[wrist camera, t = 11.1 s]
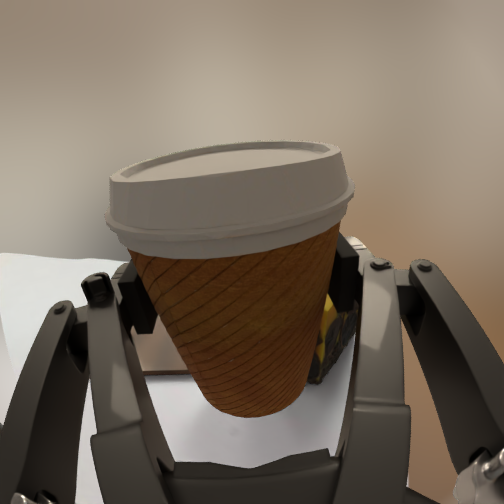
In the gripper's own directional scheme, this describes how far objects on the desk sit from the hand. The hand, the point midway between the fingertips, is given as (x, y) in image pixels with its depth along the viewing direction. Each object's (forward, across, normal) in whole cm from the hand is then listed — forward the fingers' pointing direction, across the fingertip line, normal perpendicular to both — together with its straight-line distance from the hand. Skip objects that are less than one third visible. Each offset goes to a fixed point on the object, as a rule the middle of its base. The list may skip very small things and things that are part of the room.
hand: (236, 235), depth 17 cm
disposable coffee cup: (-5, 0, -7) cm, 8 cm away
